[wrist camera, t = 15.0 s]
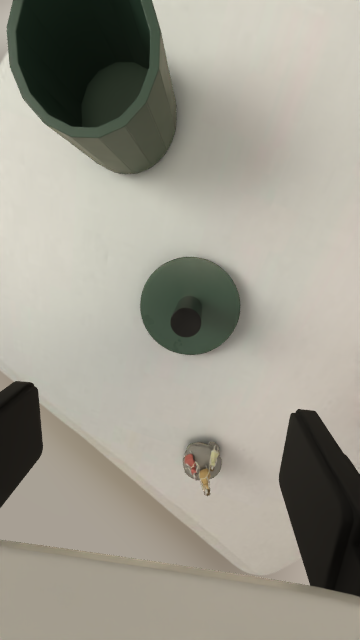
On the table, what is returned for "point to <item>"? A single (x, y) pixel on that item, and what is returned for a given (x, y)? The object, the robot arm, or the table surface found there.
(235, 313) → the trash can lid
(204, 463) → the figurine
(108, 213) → the table surface
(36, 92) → the trash can
